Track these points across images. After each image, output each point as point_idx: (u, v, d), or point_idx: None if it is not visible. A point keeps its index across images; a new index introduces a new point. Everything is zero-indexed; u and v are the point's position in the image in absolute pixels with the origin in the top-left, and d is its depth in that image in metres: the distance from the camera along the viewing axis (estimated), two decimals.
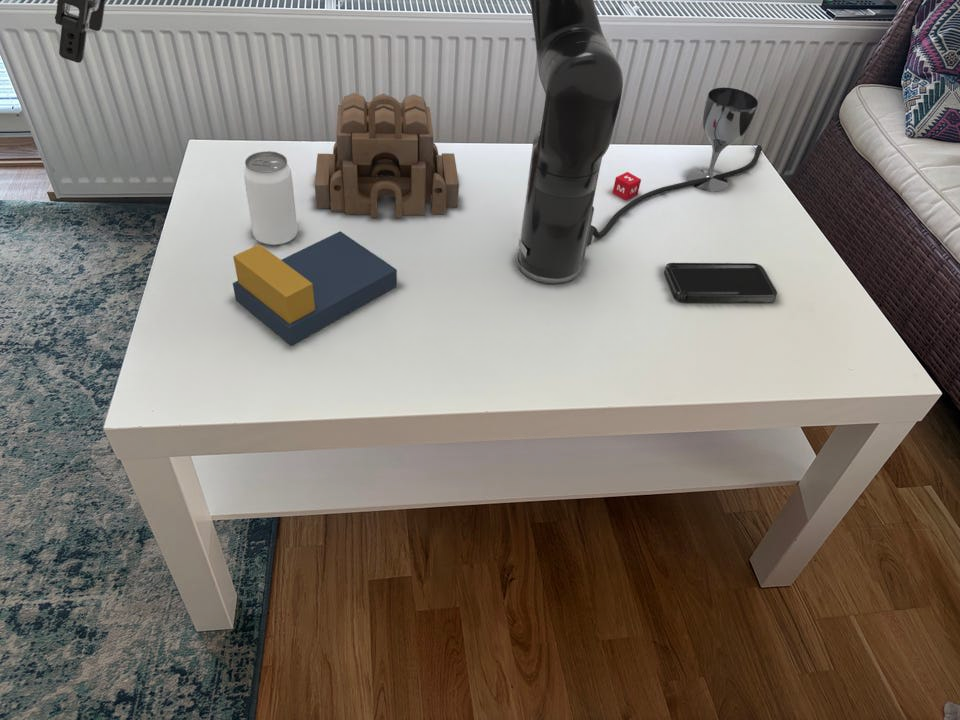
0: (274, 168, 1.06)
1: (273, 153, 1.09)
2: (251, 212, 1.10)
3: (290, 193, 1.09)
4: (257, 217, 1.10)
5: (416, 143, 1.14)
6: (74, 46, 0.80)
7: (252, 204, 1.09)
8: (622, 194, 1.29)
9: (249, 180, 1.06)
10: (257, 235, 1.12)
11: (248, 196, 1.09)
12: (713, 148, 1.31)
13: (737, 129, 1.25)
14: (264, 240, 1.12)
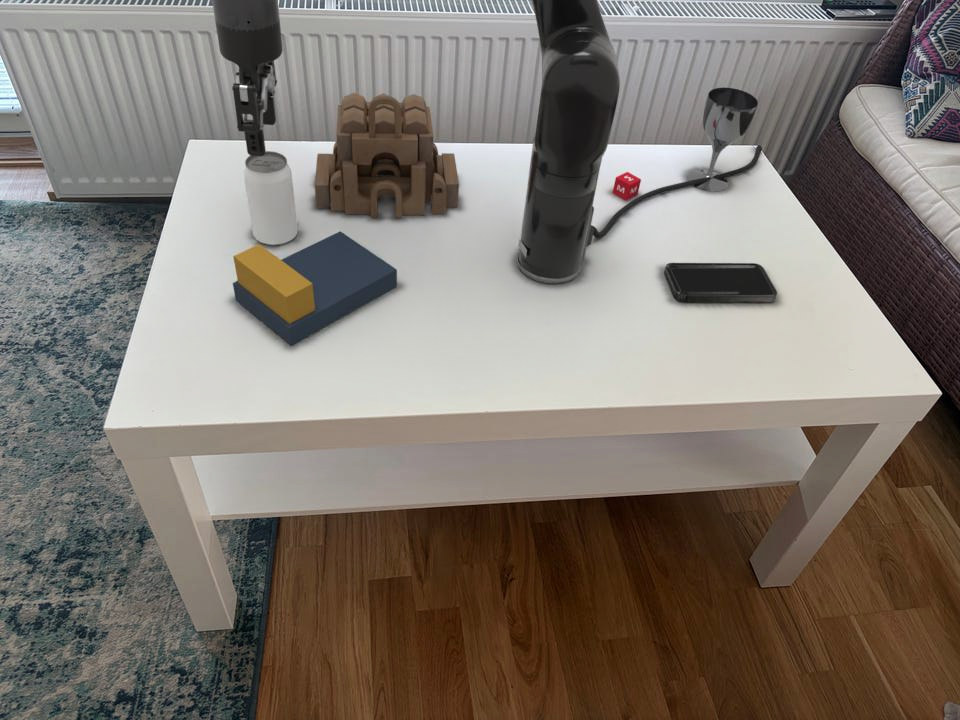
0: (274, 168, 1.06)
1: (273, 153, 1.09)
2: (251, 212, 1.10)
3: (290, 193, 1.09)
4: (257, 217, 1.10)
5: (416, 143, 1.14)
6: (256, 144, 0.99)
7: (252, 204, 1.09)
8: (622, 194, 1.29)
9: (249, 180, 1.06)
10: (257, 235, 1.12)
11: (248, 196, 1.09)
12: (713, 148, 1.31)
13: (737, 129, 1.25)
14: (264, 240, 1.12)
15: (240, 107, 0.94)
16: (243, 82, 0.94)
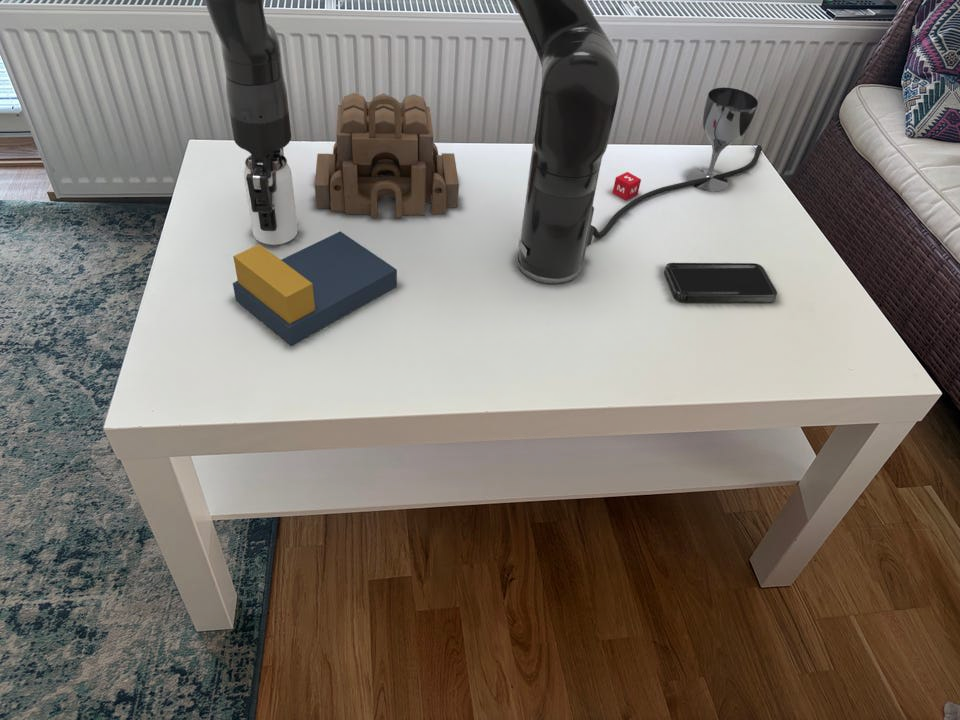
0: None
1: None
2: (251, 212, 1.10)
3: (290, 193, 1.09)
4: (257, 217, 1.10)
5: (416, 143, 1.14)
6: (269, 221, 1.08)
7: None
8: (622, 194, 1.29)
9: None
10: (257, 235, 1.12)
11: (248, 196, 1.09)
12: (713, 148, 1.31)
13: (737, 129, 1.25)
14: (264, 240, 1.12)
15: (254, 194, 1.03)
16: (256, 171, 1.02)
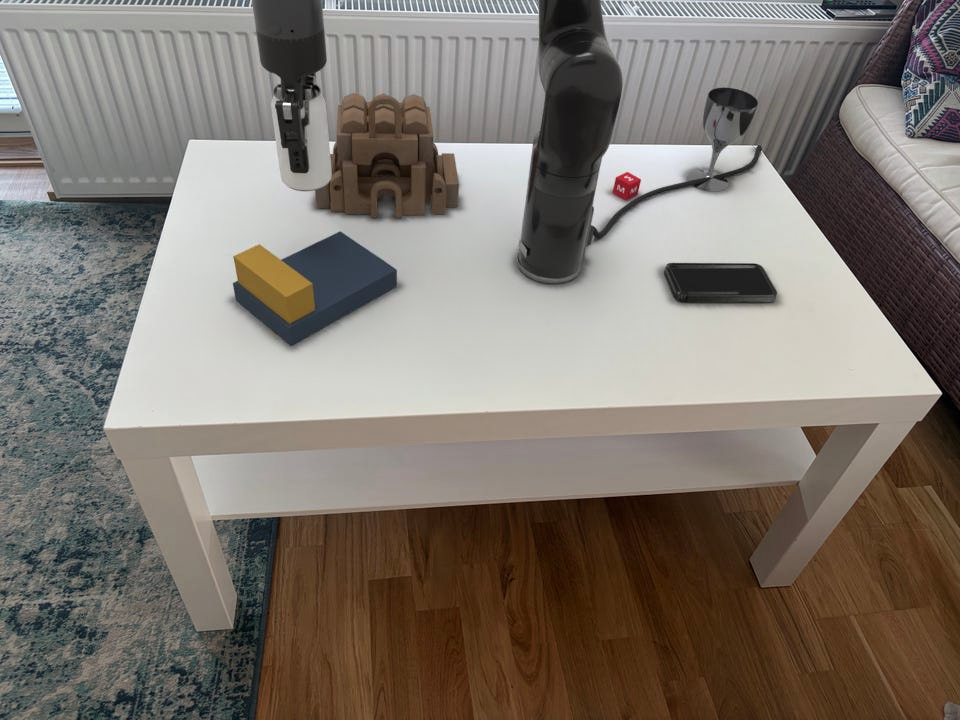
0: None
1: None
2: (279, 151, 0.96)
3: (325, 129, 0.95)
4: (287, 157, 0.95)
5: (416, 143, 1.14)
6: (300, 160, 0.94)
7: (280, 141, 0.94)
8: (622, 194, 1.29)
9: None
10: (286, 179, 0.98)
11: (276, 132, 0.94)
12: (713, 148, 1.31)
13: (737, 129, 1.25)
14: (294, 185, 0.98)
15: (284, 125, 0.88)
16: (286, 98, 0.88)
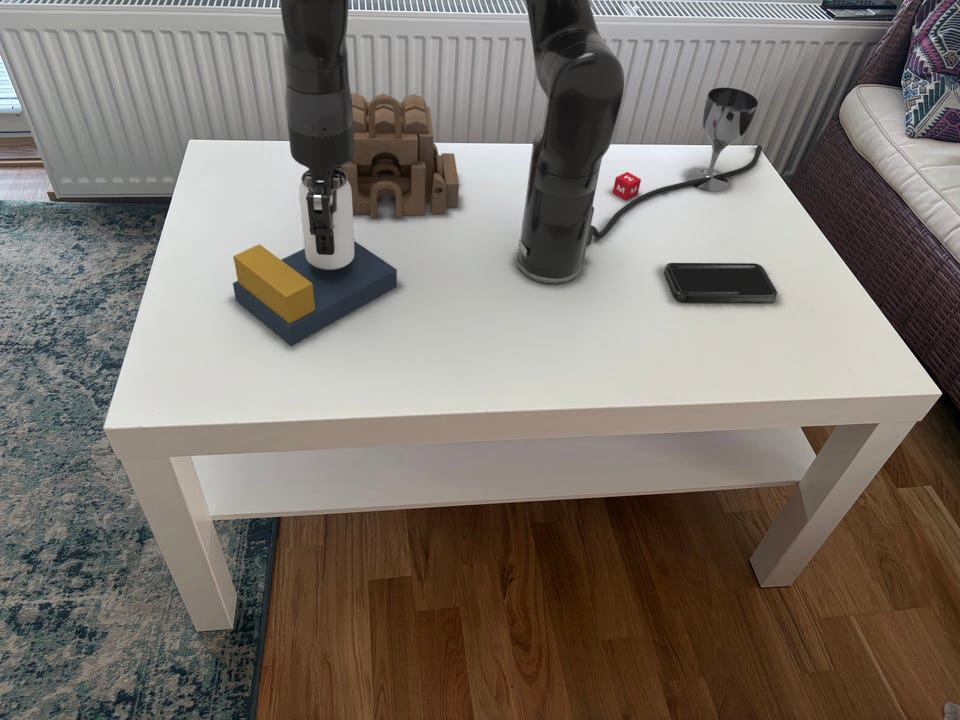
0: None
1: None
2: (306, 234, 0.99)
3: (350, 213, 0.98)
4: (313, 240, 0.99)
5: (416, 143, 1.14)
6: (327, 244, 0.97)
7: (307, 225, 0.98)
8: (622, 194, 1.29)
9: None
10: (311, 259, 1.01)
11: (303, 216, 0.97)
12: (713, 148, 1.31)
13: (737, 129, 1.25)
14: (319, 264, 1.01)
15: (313, 215, 0.92)
16: (316, 190, 0.91)
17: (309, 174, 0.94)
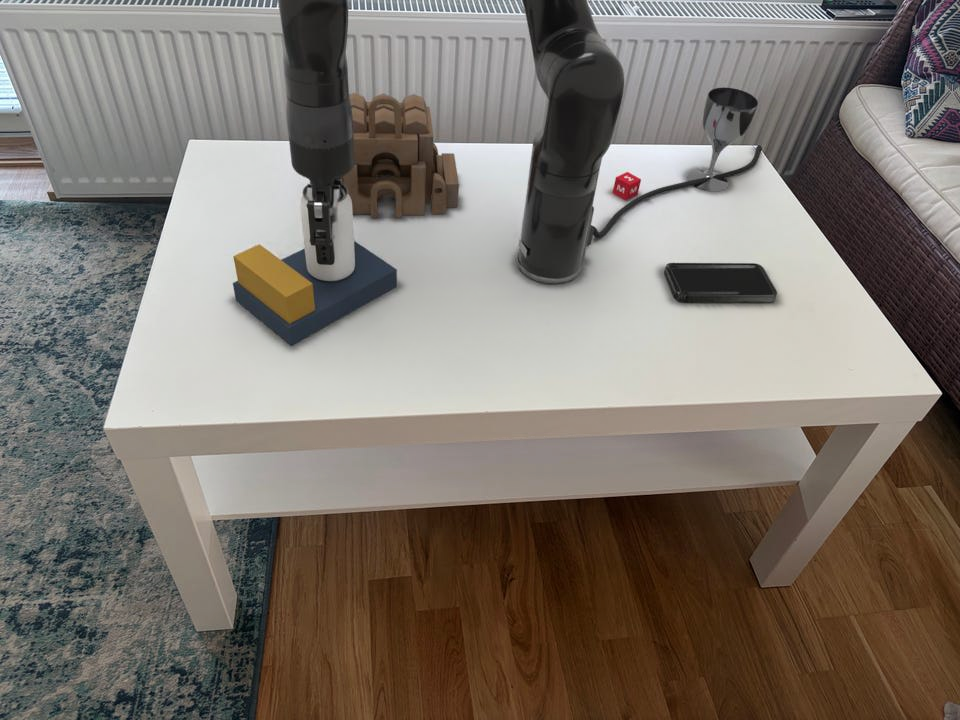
0: None
1: None
2: (307, 246, 1.00)
3: (351, 225, 1.00)
4: (314, 252, 1.00)
5: (416, 143, 1.14)
6: (327, 254, 0.97)
7: (309, 238, 0.99)
8: (622, 194, 1.29)
9: (307, 212, 0.96)
10: (312, 271, 1.03)
11: (305, 229, 0.99)
12: (713, 148, 1.31)
13: (737, 129, 1.25)
14: (320, 276, 1.02)
15: (314, 223, 0.92)
16: (317, 198, 0.92)
17: (310, 184, 0.95)
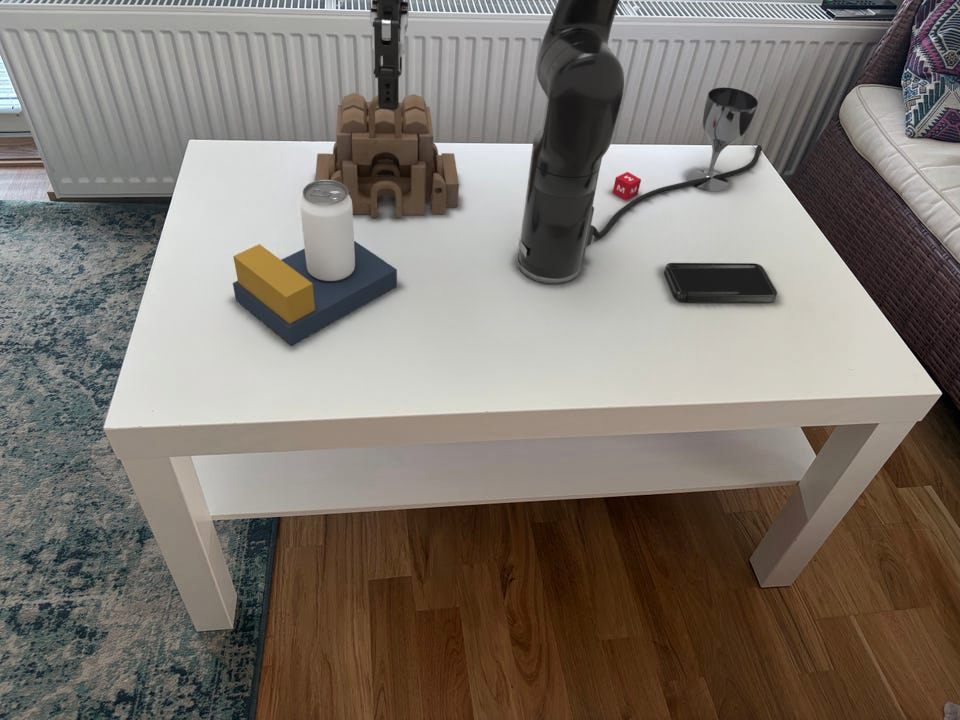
0: (335, 200, 0.96)
1: (332, 182, 0.99)
2: (307, 246, 1.00)
3: (351, 226, 1.00)
4: (314, 252, 1.00)
5: (416, 143, 1.14)
6: (391, 94, 0.84)
7: (309, 238, 0.99)
8: (622, 194, 1.29)
9: (307, 212, 0.96)
10: (312, 271, 1.03)
11: (305, 229, 0.99)
12: (713, 148, 1.31)
13: (737, 129, 1.25)
14: (320, 276, 1.02)
15: (380, 47, 0.79)
16: (384, 17, 0.79)
17: (374, 8, 0.82)
